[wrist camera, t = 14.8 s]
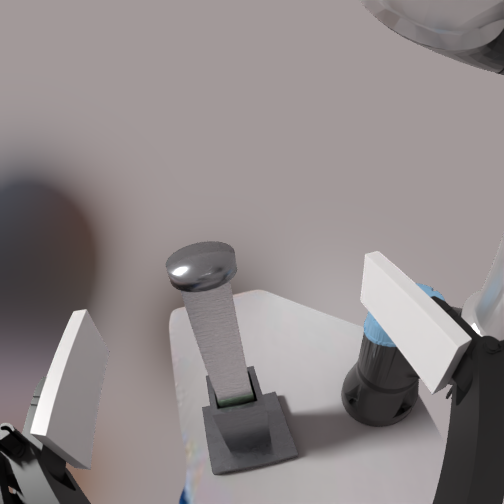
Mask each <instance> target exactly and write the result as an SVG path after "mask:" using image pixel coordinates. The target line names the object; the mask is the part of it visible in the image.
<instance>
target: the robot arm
mask: <svg viewBox="0 0 504 504" xmlns="http://www.w3.org/2000/svg"><path fill="white" fill-rule="evenodd" d="M360 1H361V3H362V4H363V5H364V6H365V7H366V8H367V9H368V10H369V11H370V12H371V13H372V14H373V15H374V16H375V17H376V18H377V19H378V20H379V21H381V22H382V23H383V24H384V25H386V26H387V27H388V28H390V29H391V30H393V31H394V32H396V33H397V34H399V35H401V36H402V37H404V38H406V39H408V40H410V41H412V42H414V43H416V44H419V45H421V46H423V47H426V48H428V49H430V50H432V51H434V52H436V53H439V54H442V55H444V56H447V57H449V58H452V59H454V60H457V61H460V62H462V63H465V64H468V65H471V66H474V67H477V68H480V69H484V70H487V71H491V72H495V73H498V74H502V75H504V0H360ZM360 301H361V302H362V303H363V304H364V306H365V307H366V308H367V309H368V315H367V318H366V320H365V323H364V335H363V340H362V345H361V350H360V354H359V359H358V361H357V363H356V364H355V365H354V366H353V368H352V369H351V370H350V371H349V372H348V374H347V376H346V378H345V380H344V383H343V387H342V393H341V396H342V402H343V405H344V407H345V409H346V411H347V412H348V413H349V414H350V415H351V416H352V417H353V418H354V419H355V420H357V421H359V422H361V423H363V424H366V425H369V426H388V425H391V424H394V423H396V422H398V421H400V420H402V419H403V418H404V417H405V416H406V415H407V414H408V413H409V412H410V411H411V409H412V407H413V406H414V404H415V402H416V399H417V396H418V383H419V382H418V381H419V380H418V379H419V378H420V379H422V381H423V382H424V384H425V385H426V386H427V388H428V389H429V391H430V392H431V393H432V394H434V393H436V392H438V391H439V390H441V389H443V388H444V387H446V385H447V384H450V385H453V386H452V387H451V389H450V391H449V392H448V394H447V396H446V399H448V398H449V396H450V395H451V394H452V398H451V399H452V403H451V414H450V424H449V431H448V438H447V444H446V450H445V455H444V460H443V465H442V470H441V474H440V479H439V483H438V487H437V490H436V494H435V498H434V501H433V504H502V503H503V498H504V233H503V236H502V239H501V242H500V245H499V248H498V251H497V254H496V256H495V259H494V262H493V264H492V267H491V269H490V272H489V274H488V277H487V279H486V281H485V284H484V286H483V288H482V290H480V291H477V292H475V293H474V294H472V295H471V296H470V297H469V298H468V299H467V301H466V302H465V304H464V306H463V308H462V309H461V308H456V307H450V306H449V305H448V304H447V303H446V302H445V299H444V298H443V296H442V295H441V294H440V293H439V292H438V291H433V288H431V287H429V286H427V285H423V284H417V283H414V282H413V281H412V280H411V279H410V278H409V277H408V276H406V275H405V274H404V273H403V272H402V271H401V270H400V269H399V268H397V267H396V266H395V265H394V264H393V263H392V262H391V261H389V260H388V259H387V258H386V257H385V256H384V255H382V254H381V253H380V252H379V251H376V252H372V253H368V254H365V262H364V272H363V282H362V290H361V298H360ZM109 352H110V351H109V350H108V348H107V346H106V344H105V343H104V341H103V339H102V337H101V336H100V334H99V332H98V330H97V329H96V327H95V325H94V323H93V321H92V319H91V317H90V315H89V313H88V311H87V310H79V311H74V312H73V314H72V316H71V318H70V320H69V323H68V325H67V327H66V329H65V332H64V334H63V337H62V339H61V341H60V344H59V346H58V349H57V351H56V354H55V356H54V359H53V361H52V364H51V367H50V370H49V372H48V375H47V377H43V378H42V379H41V381H40V382H39V383H38V385H37V386H36V389H35V392H34V395H33V397H34V398H32V401H31V406H30V407H29V411H28V414H27V418H26V421H25V425H24V428H23V432H22V434H21V433H20V432H19V431H17V429H15V428H14V427H13V426H12V425H11V424H9V423H3V424H1V425H0V504H91V503H90V502H89V500H88V499H87V497H86V496H85V495H84V493H83V492H82V490H81V489H80V487H79V486H78V484H77V483H76V481H75V479H74V478H73V476H72V475H71V473H70V472H69V471H68V469H67V468H66V462H67V463H69V464H70V465H72V466H73V467H74V468H80V469H88V470H90V469H91V458H92V448H93V440H94V433H95V425H96V419H97V412H98V406H99V400H100V395H101V390H102V384H103V379H104V375H105V370H106V365H107V361H108V356H109ZM8 486H10V487H11V488H13V494H12V493H10V492H9V488H8Z"/></svg>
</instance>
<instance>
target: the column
mask: <svg viewBox="0 0 504 504" xmlns="http://www.w3.org/2000/svg"><path fill="white" fill-rule="evenodd" d="M166 268H167V272H168V275H169V278H170V282H171V284H172V286H173V287H175V288H176V289H178V290H181V293H182V297H183V300H184V303H185V307H186V310H187V313H188V316H189V320H190V323H191V326H192V329H193V332H194V335H195V338H196V341H197V344H198V347H199V350H200V353H201V355H202V358H203V361H204V364H205V367H206V369H207V372H208V375H209V378H210V380H211V383H212V386H213V388H214V391H215V394H216V396H217V400H218V404H219V406H221V409H222V408H227V407H232V406H237V405H242V404H246V403H251V402H254V400H253V399H254V396H253V392H252V389H251V385H250V382H249V377H248V372H247V367H246V362H245V357H244V352H243V347H242V342H241V337H240V332H239V327H238V322H237V317H236V312H235V307H234V301H233V296H232V291H231V285H230V280H231V279H232V278H233V277H234V275H235V274H236V271H237V265H236V259H235V252H234V249H233V248H232V247H231V246H230V245H228V244H226V243H222V242H200V243H196V244H192V245H189V246H186V247H184V248H182V249H179V250H178V251H176V252H175V253H173V254H172V255H171V256H170V257H169V258H168V260H167V262H166Z"/></svg>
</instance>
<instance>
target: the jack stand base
mask: <svg viewBox="0 0 504 504" xmlns="http://www.w3.org/2000/svg"><path fill="white" fill-rule="evenodd" d="M247 372H248V377H249V382H250V385H251V389H252V392H253V396H254V399H253V400H254V402H251V403H246V404H242V405H237V406H232V407H227V408H222V409H221V406H219V404H218V400H217V396H216V394H215V391H214V388H213V386H212V383H211V380H210V378H209V375H208V376H206V380H207V387H208V394H209V400H210V406H207V407H202V410H203V417H204V424H205V431H206V437H207V444H208V450H209V456H210V461H211V467H212V472H213V474H214V475H217V474H223V473H230V472H235V471H241V470H246V469H251V468H256V467H260V466H264V465H269V464H273V463H277V462H280V461H284V460H288V459H291V458H295V457H298V452H297V449H296V447H295V444H294V441H293V439H292V436H291V433H290V431H289V428H288V425H287V422H286V420H285V417H284V414H283V412H282V409H281V406H280V403H279V400H278V398H277V395H276V392H272V393H268V394H264V395H262V392H261V389H260V386H259V383H258V379H257V376H256V373H255V370H254V366H251V367H247Z"/></svg>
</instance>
